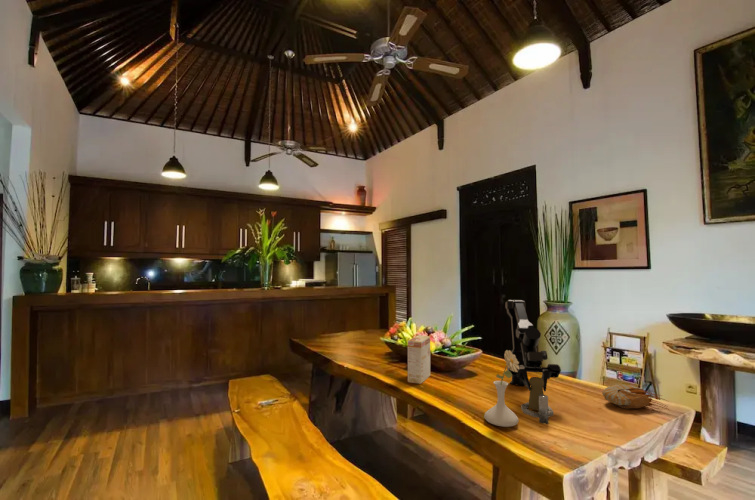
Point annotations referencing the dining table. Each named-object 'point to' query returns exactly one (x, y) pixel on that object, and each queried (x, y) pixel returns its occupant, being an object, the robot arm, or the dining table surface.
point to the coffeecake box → (418, 359)
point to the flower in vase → (500, 411)
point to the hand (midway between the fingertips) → (537, 390)
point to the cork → (535, 392)
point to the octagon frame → (543, 410)
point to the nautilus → (629, 397)
